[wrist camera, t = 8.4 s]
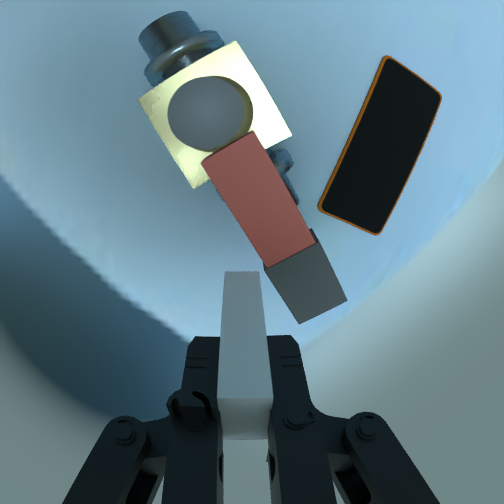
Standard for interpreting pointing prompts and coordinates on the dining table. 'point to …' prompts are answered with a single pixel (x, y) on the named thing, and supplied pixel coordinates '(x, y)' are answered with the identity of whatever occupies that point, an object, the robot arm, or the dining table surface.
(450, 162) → the dining table surface
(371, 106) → the smartphone
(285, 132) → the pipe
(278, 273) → the lever
